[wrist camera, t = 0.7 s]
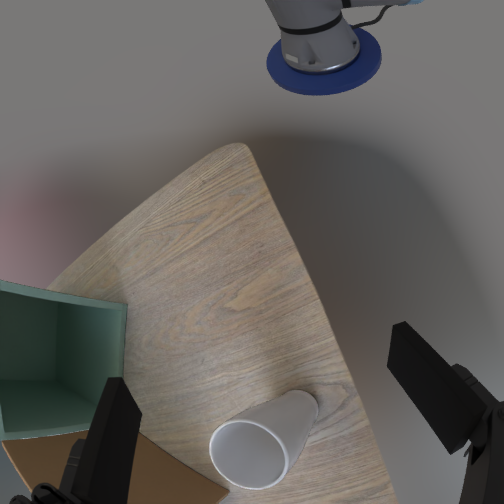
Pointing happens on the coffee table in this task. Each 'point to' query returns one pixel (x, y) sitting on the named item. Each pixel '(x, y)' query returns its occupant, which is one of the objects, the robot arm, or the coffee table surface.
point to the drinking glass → (263, 440)
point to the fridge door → (142, 477)
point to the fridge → (55, 359)
